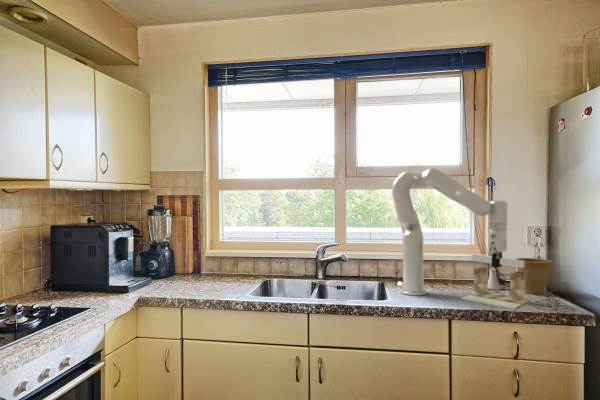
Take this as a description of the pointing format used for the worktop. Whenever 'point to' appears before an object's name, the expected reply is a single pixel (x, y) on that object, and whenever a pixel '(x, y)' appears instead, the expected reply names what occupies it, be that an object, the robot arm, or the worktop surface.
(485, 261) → the rail
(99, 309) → the worktop surface
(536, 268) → the plant pot
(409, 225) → the robot arm
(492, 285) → the flask
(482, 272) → the rail rack
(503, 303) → the mat
